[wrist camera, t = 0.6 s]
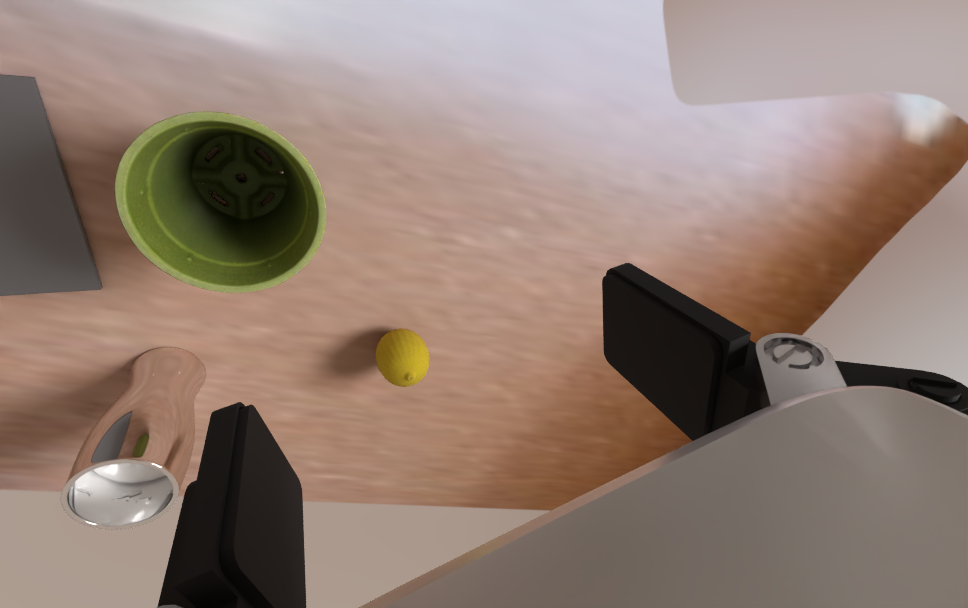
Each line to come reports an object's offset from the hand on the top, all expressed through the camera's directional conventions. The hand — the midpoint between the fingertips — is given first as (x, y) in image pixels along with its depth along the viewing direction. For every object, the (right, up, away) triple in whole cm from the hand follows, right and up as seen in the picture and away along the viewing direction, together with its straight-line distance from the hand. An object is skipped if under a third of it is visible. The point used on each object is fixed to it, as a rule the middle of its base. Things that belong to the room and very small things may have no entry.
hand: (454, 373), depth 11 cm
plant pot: (-20, +13, +27) cm, 36 cm away
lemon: (-9, -2, +39) cm, 40 cm away
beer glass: (-30, -5, +32) cm, 44 cm away
